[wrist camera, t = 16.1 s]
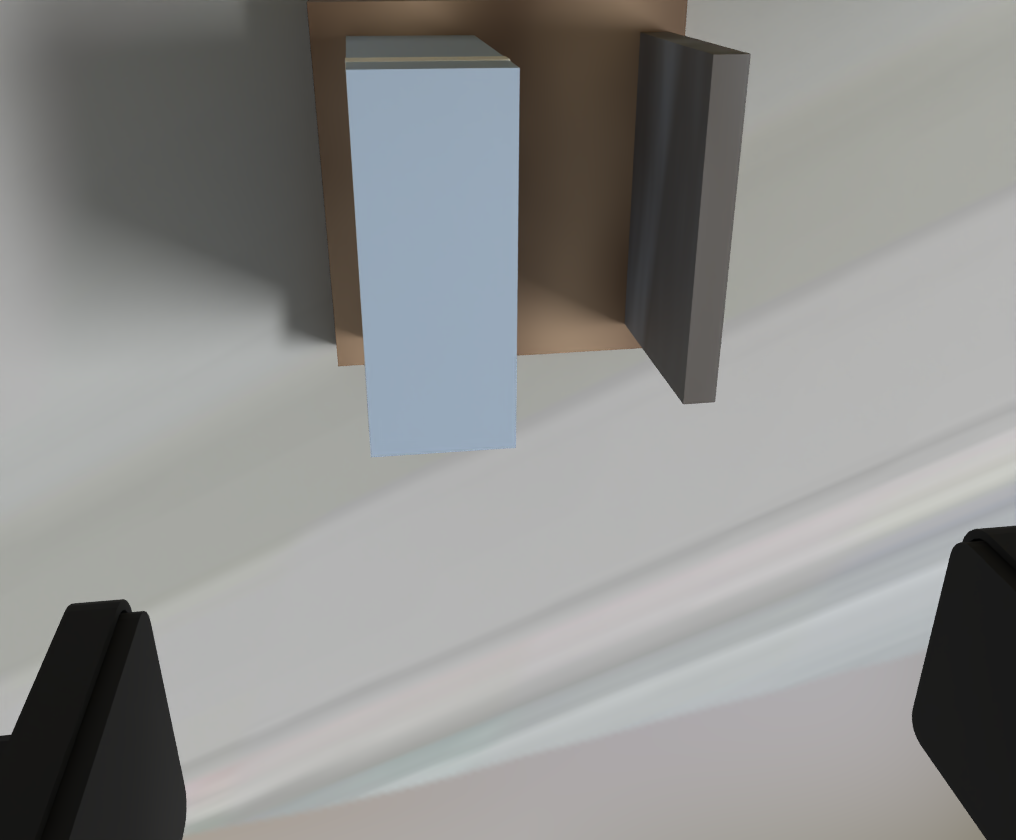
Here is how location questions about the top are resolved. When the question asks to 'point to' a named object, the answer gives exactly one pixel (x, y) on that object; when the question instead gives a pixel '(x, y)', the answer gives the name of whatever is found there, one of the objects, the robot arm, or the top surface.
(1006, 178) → the top surface
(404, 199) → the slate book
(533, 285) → the brown l-shaped piece
